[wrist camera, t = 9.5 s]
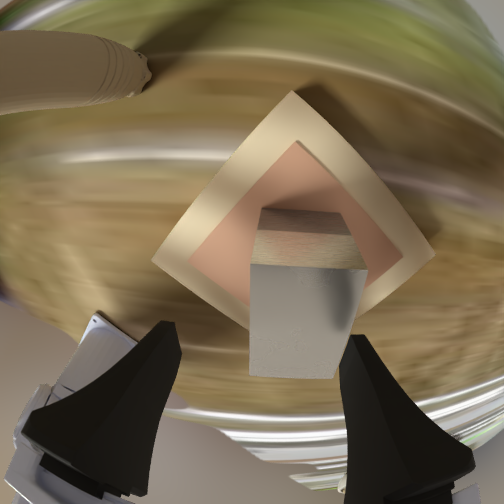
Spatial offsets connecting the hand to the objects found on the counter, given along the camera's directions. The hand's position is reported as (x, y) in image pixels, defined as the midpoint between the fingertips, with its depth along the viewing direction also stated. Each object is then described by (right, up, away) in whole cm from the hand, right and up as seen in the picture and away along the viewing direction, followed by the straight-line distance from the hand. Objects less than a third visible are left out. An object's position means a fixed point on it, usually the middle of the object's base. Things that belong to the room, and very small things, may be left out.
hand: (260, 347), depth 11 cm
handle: (-8, +16, +3) cm, 18 cm away
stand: (+3, +5, +8) cm, 9 cm away
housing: (+2, +3, +6) cm, 7 cm away
